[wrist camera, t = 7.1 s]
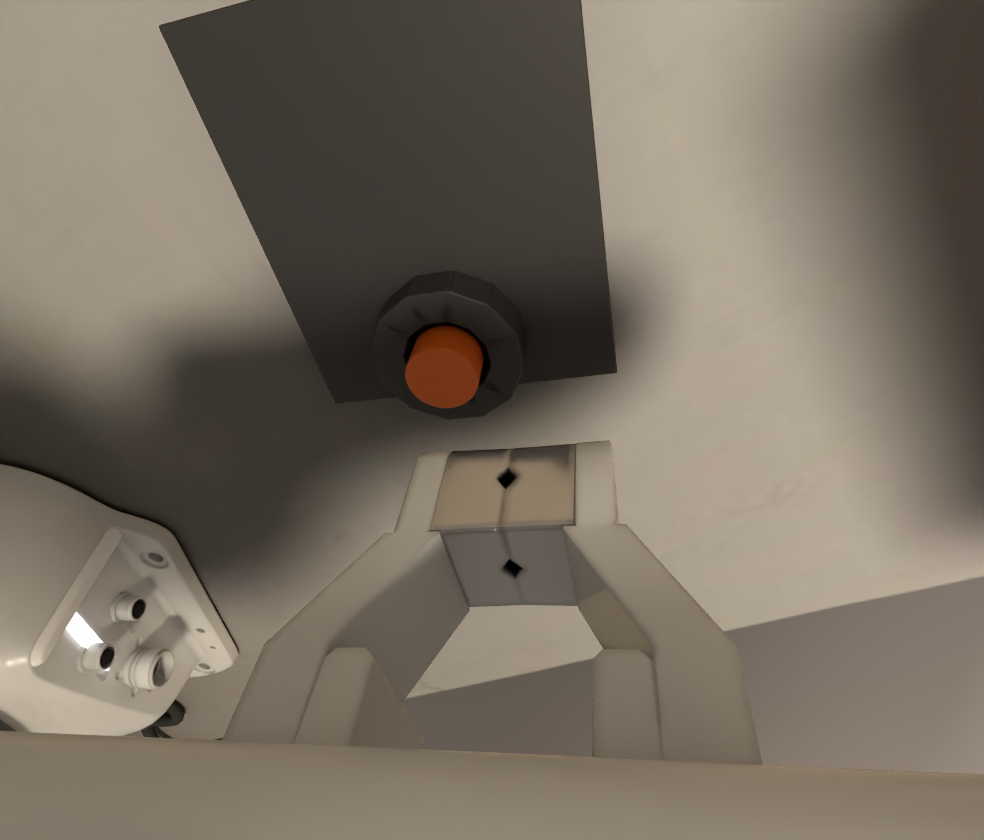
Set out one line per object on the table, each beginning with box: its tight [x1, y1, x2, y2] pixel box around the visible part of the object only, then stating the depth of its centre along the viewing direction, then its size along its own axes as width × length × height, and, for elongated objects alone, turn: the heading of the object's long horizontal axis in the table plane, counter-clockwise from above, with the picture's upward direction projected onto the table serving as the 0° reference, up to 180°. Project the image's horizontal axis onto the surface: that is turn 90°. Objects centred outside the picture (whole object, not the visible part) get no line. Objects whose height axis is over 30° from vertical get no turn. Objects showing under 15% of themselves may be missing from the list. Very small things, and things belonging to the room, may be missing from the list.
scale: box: [159, 0, 617, 420], centre depth 20 cm, size 14×12×3 cm
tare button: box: [405, 325, 483, 408], centre depth 21 cm, size 3×3×2 cm
